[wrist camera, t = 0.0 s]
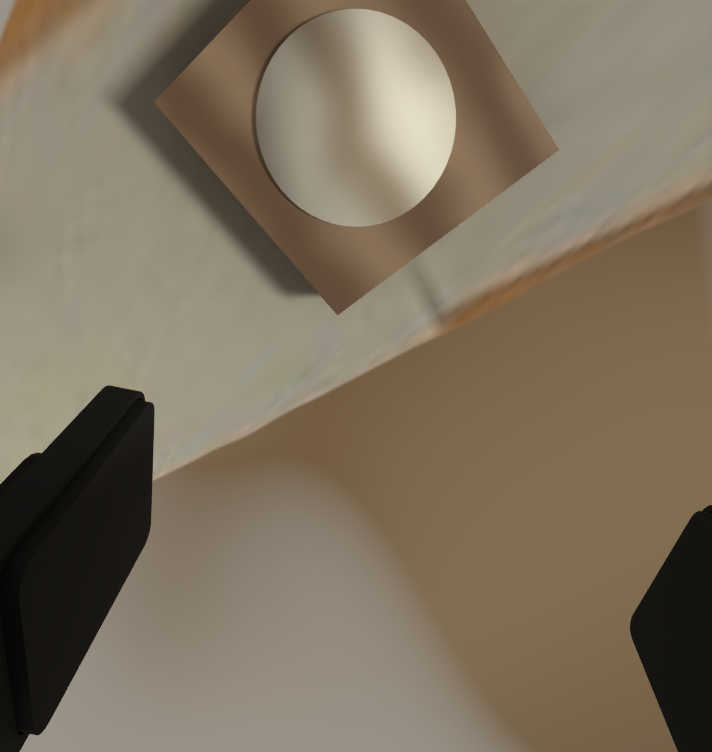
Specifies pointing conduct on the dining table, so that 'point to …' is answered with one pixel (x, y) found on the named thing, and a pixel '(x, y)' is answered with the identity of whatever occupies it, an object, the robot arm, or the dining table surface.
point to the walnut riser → (356, 129)
